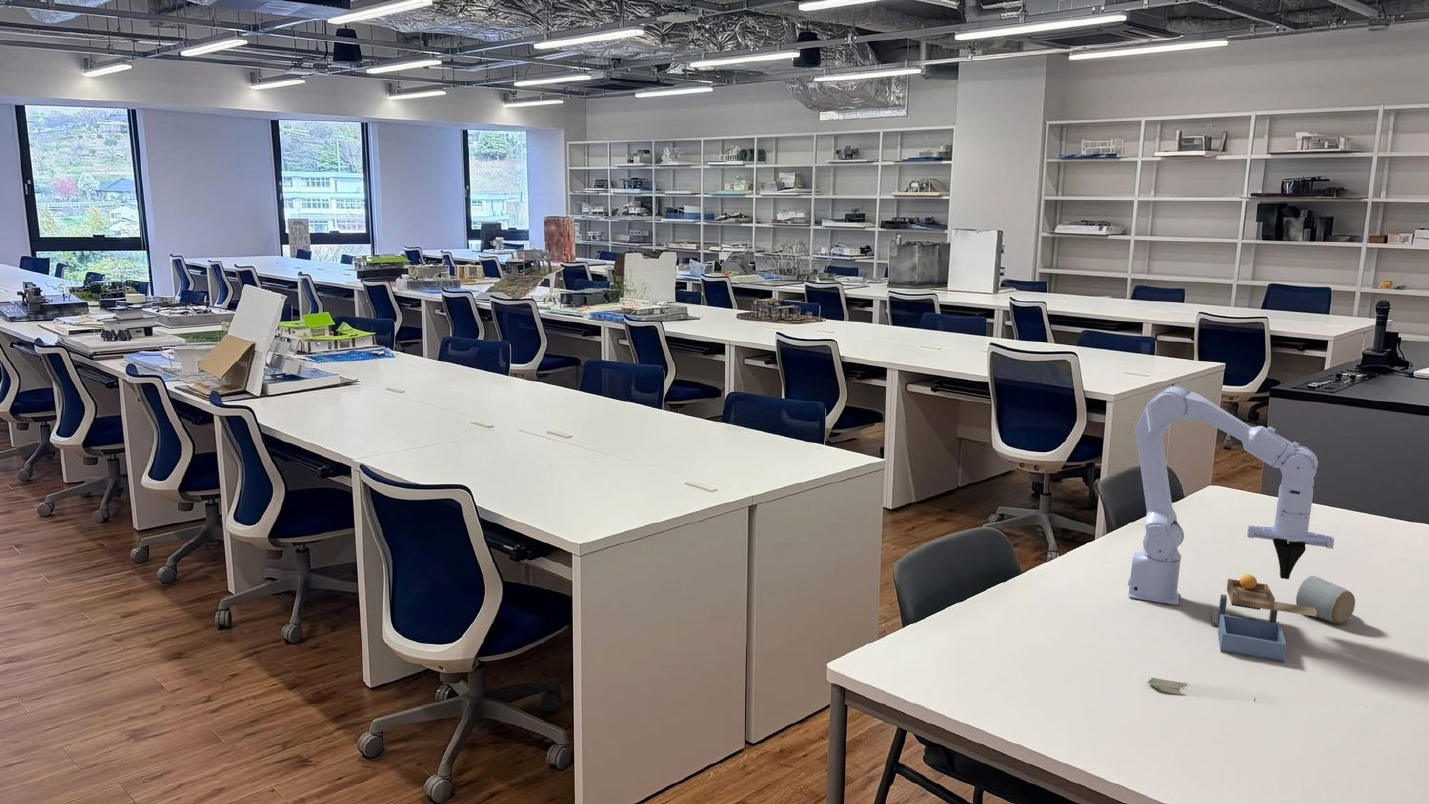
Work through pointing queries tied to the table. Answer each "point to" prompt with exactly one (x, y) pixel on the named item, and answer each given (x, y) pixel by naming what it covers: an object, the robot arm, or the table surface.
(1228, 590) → the tilt ramp
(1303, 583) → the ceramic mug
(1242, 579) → the orange ball
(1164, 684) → the map
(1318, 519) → the table surface
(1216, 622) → the pivot stand
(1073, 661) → the table surface
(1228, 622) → the bin
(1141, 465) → the robot arm
